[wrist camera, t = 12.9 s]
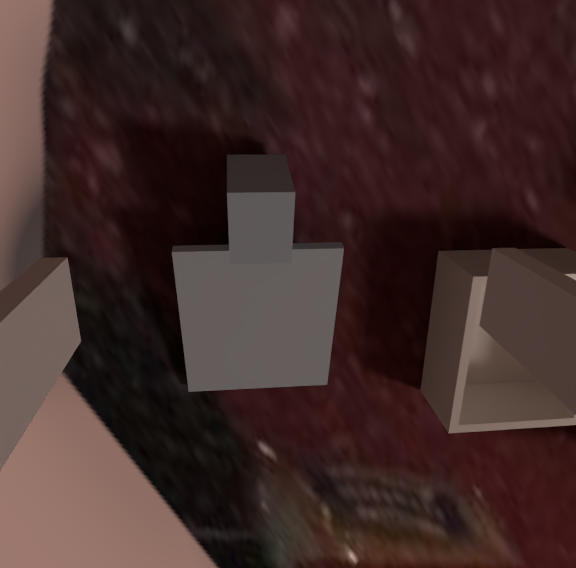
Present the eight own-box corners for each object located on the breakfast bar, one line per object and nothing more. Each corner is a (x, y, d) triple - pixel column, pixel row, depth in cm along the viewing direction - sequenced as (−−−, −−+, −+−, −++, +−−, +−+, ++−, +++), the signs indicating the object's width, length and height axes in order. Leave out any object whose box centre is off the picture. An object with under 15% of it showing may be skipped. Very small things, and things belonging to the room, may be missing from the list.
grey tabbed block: (170, 154, 32) (160, 193, 28) (339, 154, 34) (358, 191, 29) (191, 354, 43) (187, 407, 38) (319, 349, 45) (330, 399, 40)
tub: (438, 250, 38) (473, 276, 33) (566, 247, 40) (621, 272, 34) (420, 389, 43) (448, 433, 38) (536, 383, 44) (579, 424, 39)
